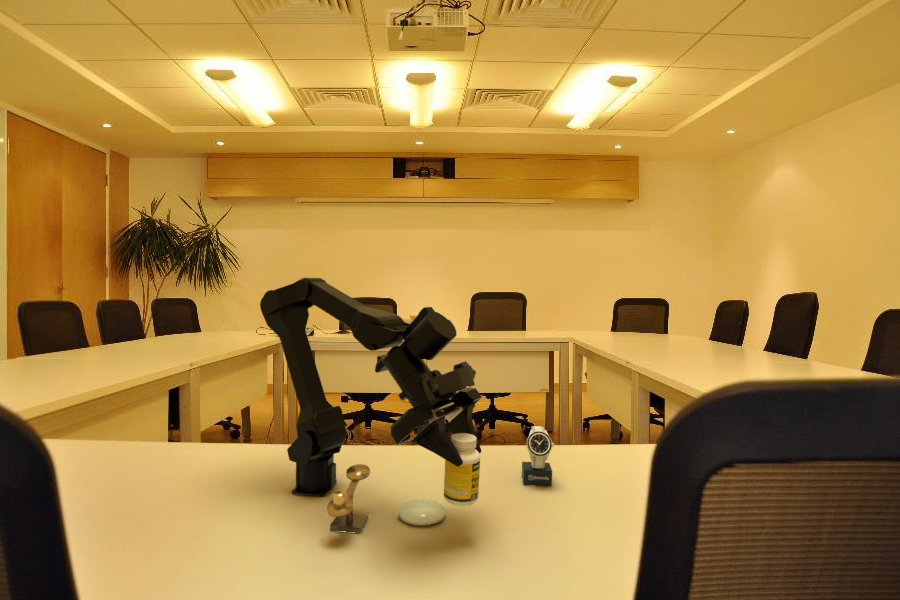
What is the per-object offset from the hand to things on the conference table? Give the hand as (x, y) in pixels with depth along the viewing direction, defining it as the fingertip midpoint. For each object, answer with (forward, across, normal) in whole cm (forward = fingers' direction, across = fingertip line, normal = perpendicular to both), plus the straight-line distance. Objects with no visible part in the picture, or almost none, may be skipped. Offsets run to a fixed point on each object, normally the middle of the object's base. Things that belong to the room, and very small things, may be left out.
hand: (470, 459), depth 77 cm
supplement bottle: (+4, 0, +6) cm, 7 cm away
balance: (-3, -7, +22) cm, 24 cm away
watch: (+10, +28, +9) cm, 31 cm away
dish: (+2, +3, +17) cm, 17 cm away
